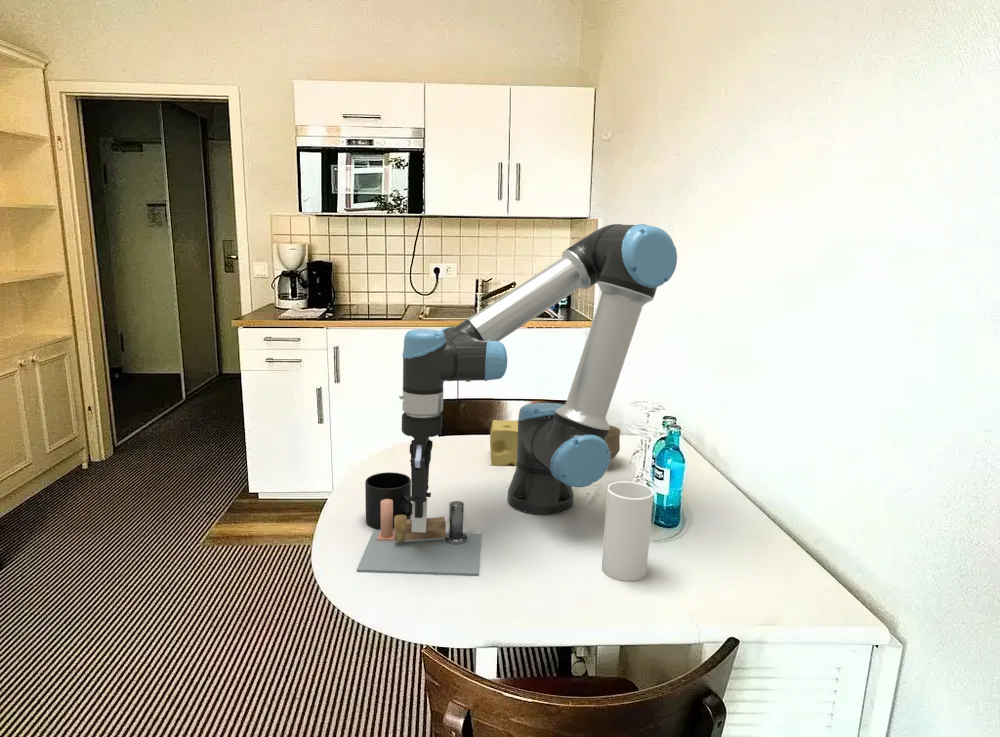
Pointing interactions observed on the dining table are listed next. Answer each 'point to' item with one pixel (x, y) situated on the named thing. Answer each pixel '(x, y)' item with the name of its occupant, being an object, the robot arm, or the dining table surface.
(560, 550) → the dining table surface
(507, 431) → the cheese
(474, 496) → the dining table surface
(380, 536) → the post
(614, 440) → the bowl
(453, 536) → the pivot post
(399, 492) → the mug
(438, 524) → the gate
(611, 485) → the cup
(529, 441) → the robot arm
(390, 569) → the mat
